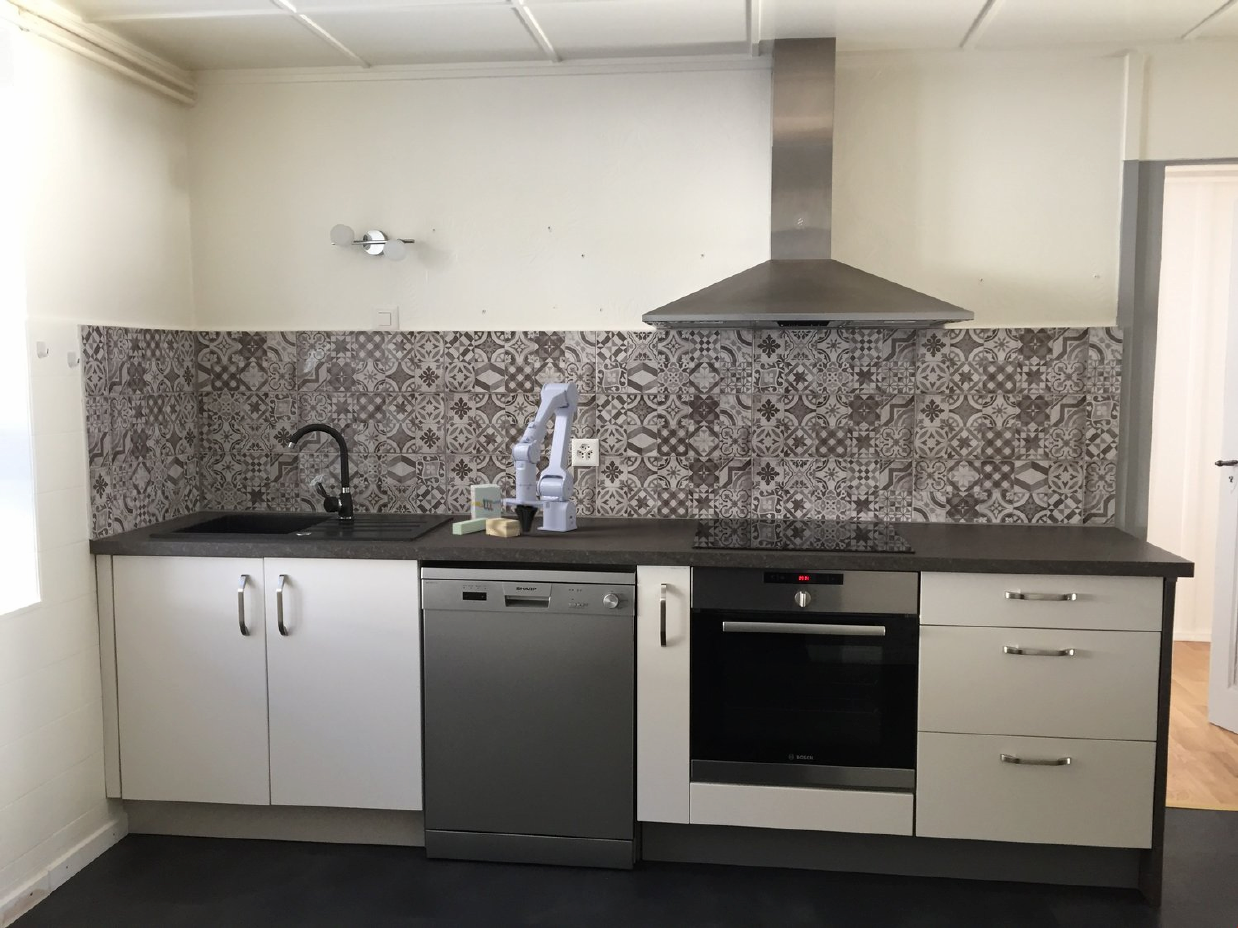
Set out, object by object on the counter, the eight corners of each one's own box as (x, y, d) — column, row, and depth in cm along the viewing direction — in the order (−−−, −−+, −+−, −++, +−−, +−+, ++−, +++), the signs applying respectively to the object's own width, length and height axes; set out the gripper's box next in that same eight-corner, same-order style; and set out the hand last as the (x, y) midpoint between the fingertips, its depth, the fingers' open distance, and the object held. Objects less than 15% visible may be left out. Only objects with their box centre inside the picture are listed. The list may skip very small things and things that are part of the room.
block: (519, 536, 285) (519, 520, 284) (506, 538, 281) (506, 522, 281) (499, 532, 291) (499, 517, 290) (486, 534, 287) (486, 519, 287)
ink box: (470, 520, 314) (469, 484, 313) (496, 519, 316) (496, 483, 315) (474, 524, 305) (474, 486, 304) (501, 523, 308) (501, 486, 307)
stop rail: (489, 528, 298) (489, 518, 298) (461, 534, 286) (461, 524, 285) (481, 527, 299) (481, 517, 299) (452, 533, 287) (452, 523, 287)
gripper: (497, 484, 281) (497, 531, 282) (540, 487, 274) (540, 535, 275) (510, 482, 287) (511, 528, 288) (553, 484, 280) (553, 532, 281)
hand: (526, 531), depth 282 cm, fingers closed
